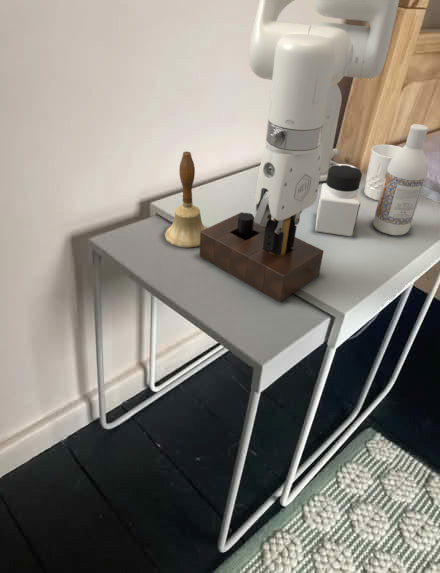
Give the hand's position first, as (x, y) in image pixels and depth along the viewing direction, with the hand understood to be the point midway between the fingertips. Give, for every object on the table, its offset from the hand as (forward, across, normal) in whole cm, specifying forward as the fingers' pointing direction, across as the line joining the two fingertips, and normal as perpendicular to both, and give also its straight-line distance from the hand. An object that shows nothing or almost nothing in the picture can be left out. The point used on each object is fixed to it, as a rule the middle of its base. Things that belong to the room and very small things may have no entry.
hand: (278, 247), depth 79 cm
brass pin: (+3, 0, 0) cm, 3 cm away
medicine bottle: (+6, +22, +3) cm, 23 cm away
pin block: (+5, 0, +4) cm, 6 cm away
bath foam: (+6, +30, -5) cm, 31 cm away
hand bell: (+6, -2, +19) cm, 20 cm away
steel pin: (+5, 0, +7) cm, 9 cm away
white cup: (+6, +42, +4) cm, 43 cm away
